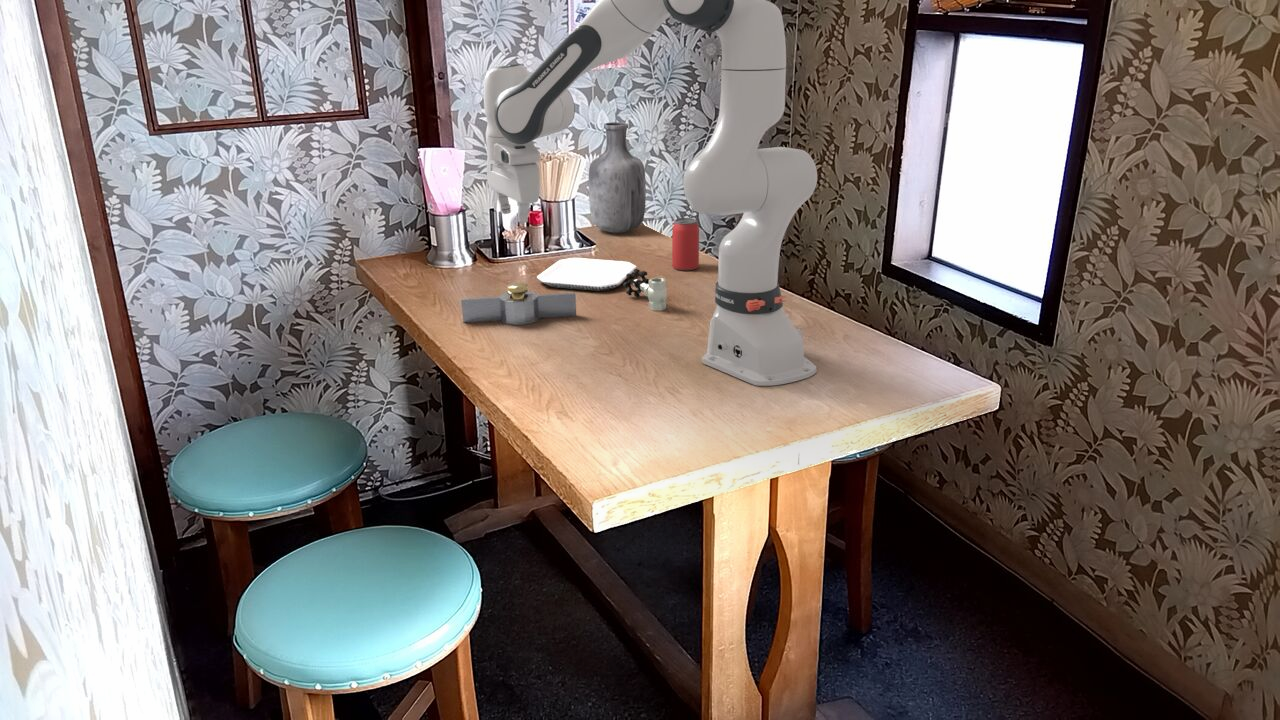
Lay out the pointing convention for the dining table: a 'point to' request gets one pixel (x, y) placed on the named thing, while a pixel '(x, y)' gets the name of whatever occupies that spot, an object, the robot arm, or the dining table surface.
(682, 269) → the beer can
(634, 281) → the valve
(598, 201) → the vase
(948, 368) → the dining table surface
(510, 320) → the hinge
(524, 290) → the hinge pin
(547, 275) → the plate
